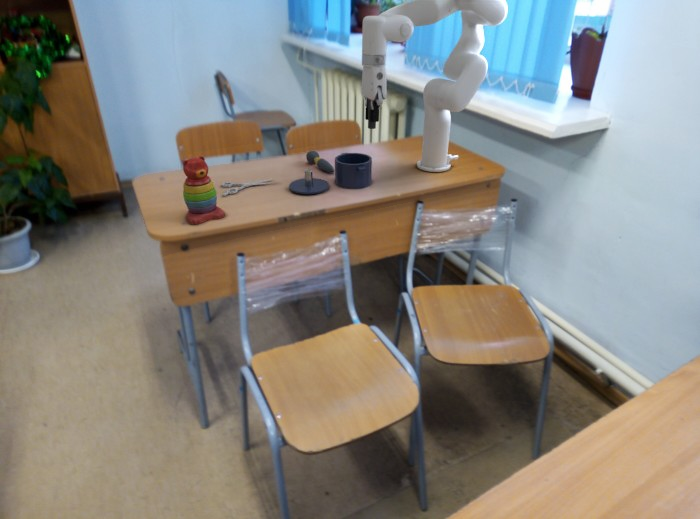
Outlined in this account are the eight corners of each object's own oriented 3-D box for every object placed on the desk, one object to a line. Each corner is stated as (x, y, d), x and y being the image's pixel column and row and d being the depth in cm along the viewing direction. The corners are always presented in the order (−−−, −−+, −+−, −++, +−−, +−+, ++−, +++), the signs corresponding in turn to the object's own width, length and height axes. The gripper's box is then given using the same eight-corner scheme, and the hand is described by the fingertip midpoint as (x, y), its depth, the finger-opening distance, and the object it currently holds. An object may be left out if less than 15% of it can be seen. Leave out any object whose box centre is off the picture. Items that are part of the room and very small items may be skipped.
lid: (322, 179, 171) (321, 162, 168) (334, 192, 160) (334, 174, 157) (285, 184, 167) (283, 166, 164) (295, 198, 156) (293, 180, 153)
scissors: (216, 183, 165) (272, 174, 172) (216, 185, 165) (272, 176, 173) (223, 194, 157) (281, 184, 164) (223, 196, 157) (281, 186, 164)
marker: (374, 126, 160) (375, 88, 154) (377, 128, 158) (378, 90, 152) (366, 127, 159) (367, 89, 153) (369, 129, 157) (370, 90, 151)
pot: (360, 171, 177) (360, 149, 173) (380, 188, 163) (380, 164, 158) (328, 175, 173) (327, 153, 169) (345, 193, 159) (344, 169, 155)
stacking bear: (192, 226, 138) (180, 166, 129) (180, 214, 145) (169, 157, 136) (227, 217, 143) (219, 159, 134) (214, 205, 151) (206, 150, 142)
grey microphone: (341, 172, 176) (341, 159, 174) (330, 175, 174) (330, 162, 171) (311, 159, 190) (311, 147, 187) (301, 162, 187) (300, 149, 185)
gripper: (396, 63, 143) (392, 125, 152) (374, 56, 156) (372, 114, 165) (373, 64, 140) (371, 127, 150) (353, 57, 154) (352, 116, 163)
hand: (372, 120), depth 157 cm, fingers closed on marker, 2 cm apart
